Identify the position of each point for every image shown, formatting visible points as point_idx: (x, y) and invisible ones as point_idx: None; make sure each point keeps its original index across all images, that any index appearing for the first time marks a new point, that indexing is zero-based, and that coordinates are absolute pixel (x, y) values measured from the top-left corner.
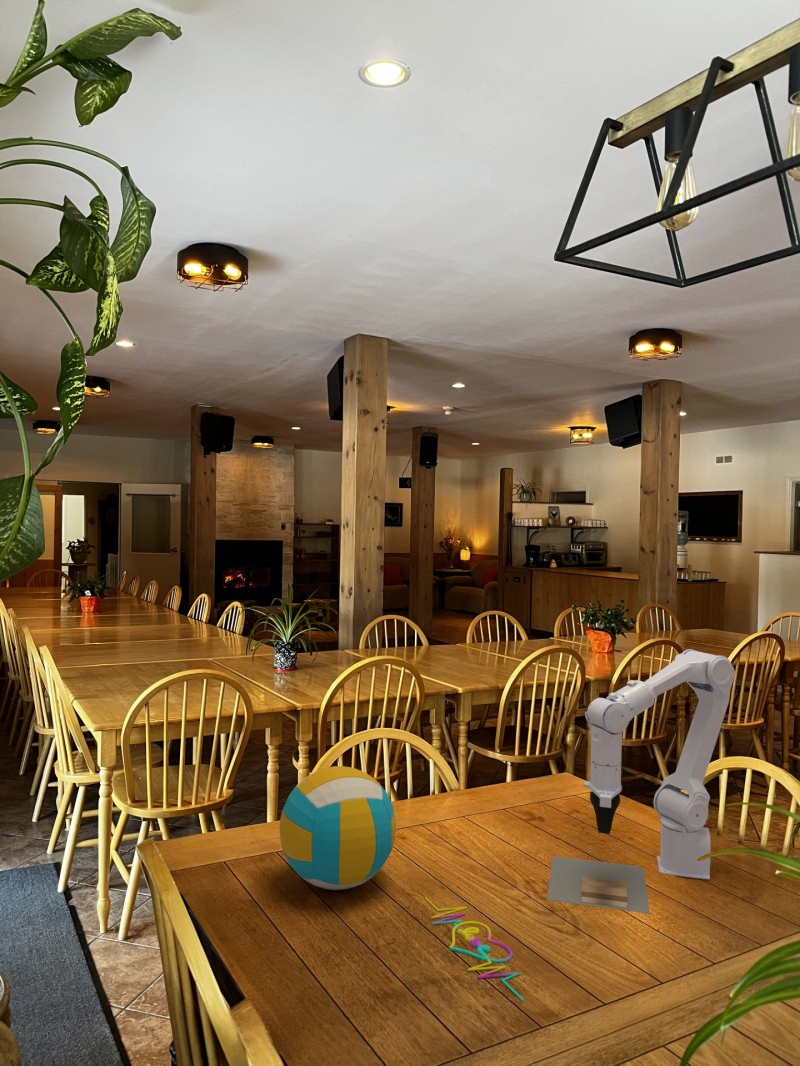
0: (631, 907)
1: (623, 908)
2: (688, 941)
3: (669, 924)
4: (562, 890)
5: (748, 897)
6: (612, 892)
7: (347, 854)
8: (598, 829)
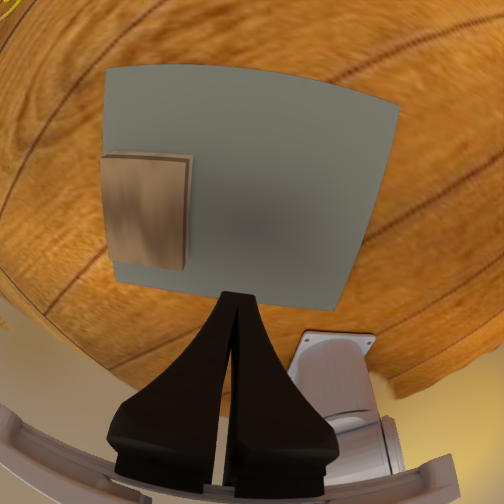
0: None
1: None
2: (71, 307)
3: (103, 299)
4: (165, 101)
5: None
6: (117, 232)
7: None
8: (219, 299)
